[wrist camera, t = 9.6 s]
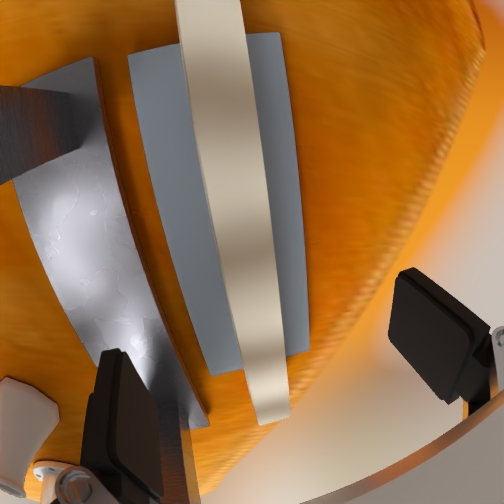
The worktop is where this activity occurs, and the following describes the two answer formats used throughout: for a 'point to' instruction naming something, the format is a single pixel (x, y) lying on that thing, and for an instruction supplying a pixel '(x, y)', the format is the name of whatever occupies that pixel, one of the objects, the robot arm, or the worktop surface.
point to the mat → (194, 199)
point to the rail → (236, 191)
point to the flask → (22, 431)
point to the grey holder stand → (96, 246)
